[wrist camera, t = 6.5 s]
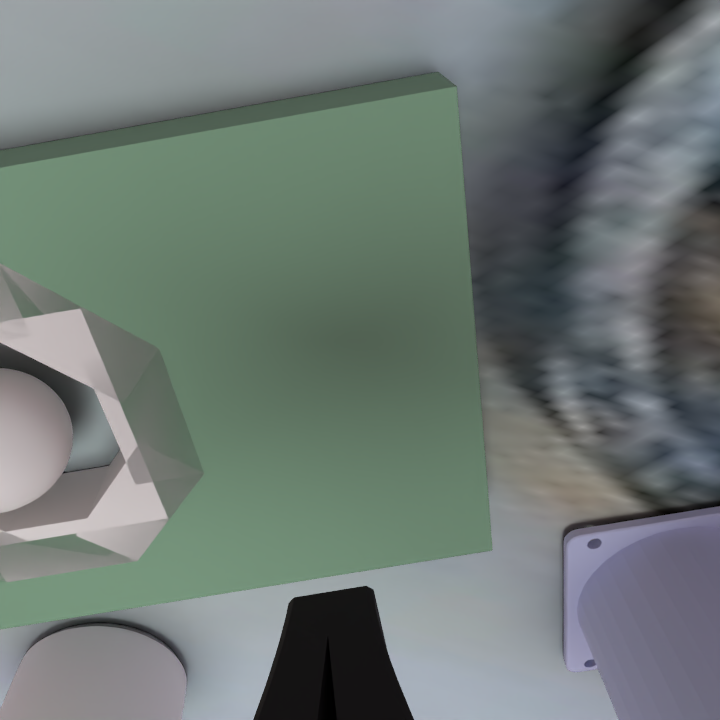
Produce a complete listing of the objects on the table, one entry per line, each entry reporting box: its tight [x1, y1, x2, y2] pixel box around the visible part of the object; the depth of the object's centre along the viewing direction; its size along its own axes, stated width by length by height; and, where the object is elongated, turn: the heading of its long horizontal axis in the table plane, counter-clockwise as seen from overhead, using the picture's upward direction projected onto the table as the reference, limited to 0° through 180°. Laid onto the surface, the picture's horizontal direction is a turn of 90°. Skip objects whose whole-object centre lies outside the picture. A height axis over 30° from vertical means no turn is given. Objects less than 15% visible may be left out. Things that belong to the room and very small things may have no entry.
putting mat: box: [0, 72, 492, 629], centre depth 19 cm, size 18×14×2 cm
